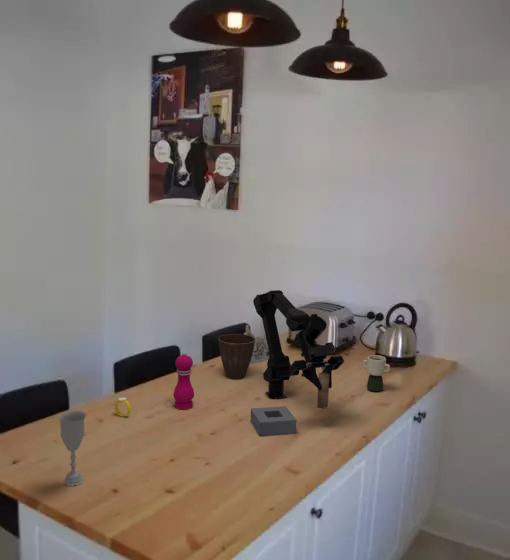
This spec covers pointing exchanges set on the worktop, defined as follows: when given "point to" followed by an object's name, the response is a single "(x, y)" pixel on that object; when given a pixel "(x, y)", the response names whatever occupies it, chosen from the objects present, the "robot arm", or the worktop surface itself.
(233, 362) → the plant pot
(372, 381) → the cream and green vessel
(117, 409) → the yellow ring
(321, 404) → the walnut pin
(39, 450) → the worktop surface
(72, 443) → the chalice
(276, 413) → the socket block
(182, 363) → the pepper mill
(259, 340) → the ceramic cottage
